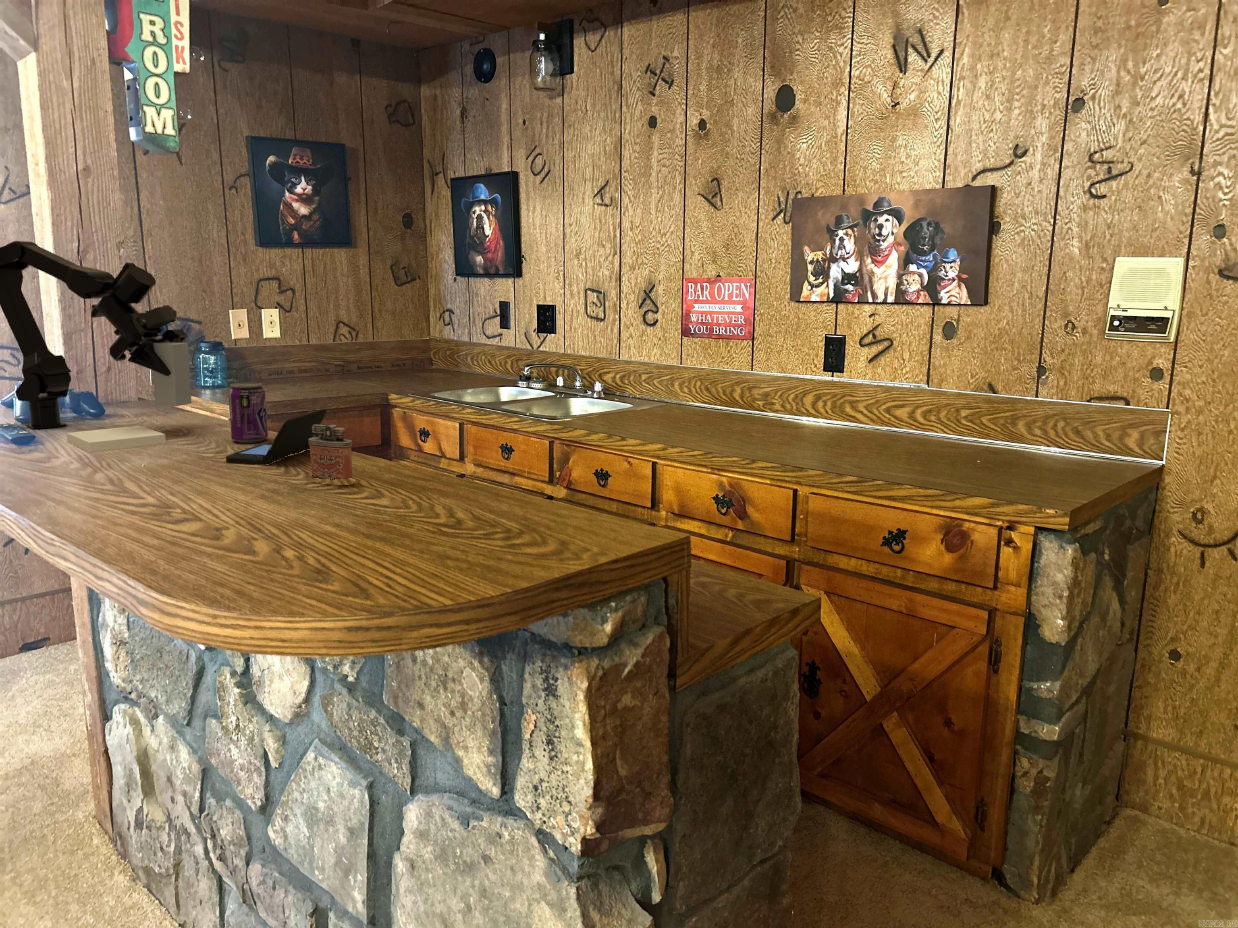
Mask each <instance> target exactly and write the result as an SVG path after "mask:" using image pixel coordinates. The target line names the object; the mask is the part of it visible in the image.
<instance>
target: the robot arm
mask: <svg viewBox="0 0 1238 928" xmlns="http://www.w3.org/2000/svg"><path fill="white" fill-rule="evenodd" d="M29 267H32V268H35V269H36V270H39V271H41V272H42V273H45V274H47V275H49V276H51V277H53V278H55V279H57V280H59V281H61V282H63V283H64V284H65V285H66V287H67V288H68V290H69V291H71V292H72V293H74V294H75V295H77V296H78V297H79V298H81V299H84V300H95V299H96V300H99V299H100V300H99V301H98V303H96V304H95V303H94V304H91V312H90V313H91V318H92V319H93V318H95V319H96V318H101V317H102V318H103V317H104V318H105V319H106V320H107V321H108V322H109V323H110V325H112V326H113V327H114V328H115V330H114V331H113V334H115V335H116V336H117V339H116V340H114V342H113V343H112V344H111V345H110V347H108V353H109V356H110V357H111V358H112V359H113V360H114V361H115V362H122V361H125V360H126V359H127V354H126V353H125V352H126V351H128V352H129V353H128V354H129V356H130V357H129V358H128V359H127V362H129V363H133V364H136V365H138V366H141V367H144V368H146V369H149V370H151V371H152V372H153V371H156V372H158V373H161V374H163V375H165V376H169V375H170V374H171V372H170V370H169V369H168V367H167V366H166V365H165V364H164V362H163V361H162V360H161V359H160V357H159V356H158V355H157V354H156V352H155V350H154V344H153V343H162V342H174V343H184V342H185V340H186V339H187V338H188V334H187V333H186V331H184V330H183V329H182V328H171V329H166V330H165V331H164V328H163V327H164V326H167V325H169V324H171V323H175V322H176V321H177V316H178V315H177V310H175V309H174V308H173V306H171V305H168V304H166V305H164V304H163V305H162V306H158V307H155V308H152V309H150V310H148V311H146V312H139V311H138V310H137V309H136V308H135V306H133V305H135V304H136V305H139V304H141V303H142V302H143V300H144V299H145V298H146V297H147V296H148V295H149V293H150V292H151V290H152V289H153V288H154V287H155V285H156V284H157V280H156V279H155V277H154V275H153V274H152V273H150V272H148V271H147V270H145V269H143V268H141V267H139V266H137V265H136V264H135V263H134V262H125V263H124V265H123V266H122V267H121V270H120V271H119V272H118V274H117V275H116V276H115V277H114V276H113V275H112V274H111V273H110V272H108V271H105V270H101V269H97V268H92V267H87V266H82V265H79V264H77V263H74V262H72V261H70V260H68V259H66V258H64V257H62V256H60V255H57V254H56V253H54V252H51V251H50V250H47V249H45V248H44V247H40V246H39V245H38V244H36V243H35V242H34V241H28V240H27V241H22V240H13V241H11V242H9V243H7V244H5V245H3V246H0V307H1V311H2V313H3V315H4V317H5V319H6V321H7V323H8V326H9V328H10V330H11V332H12V334H13V338H15V341H16V342H17V343H16V344H17V345H18V347H19V349H20V352H21V353H22V356H23V362H22V367H21V374H22V376H23V381H22V382H21V383H20V385H18V387H17V388H16V390H15V391H14V392H15V393H14V394H15V396H16V398H17V400H18V401H19V402H27V404H28V411H29V413H28V414H29V420H30V421H29V422H27V423H25V426H26V427H29V428H30V429H33V430H39V429H49V428H60V427H66V426H67V423H65V422H63V421H61V420H62V419H61V411H60V401H59V399H60V398H67V397H68V394H69V389H70V384H71V382H72V377H71V372H72V371H71V369H70V368H69V367H68V364H67V360H66V357H64V356H63V355H62V354H59V355H55V354H54V353H52V352H51V351H50V349H49V348H48V345H47V343H46V341H45V339H44V337H43V335H42V332H41V330H40V328H39V326H38V324H37V321H36V319H35V318H34V315H33V312H32V311H31V308H30V306H29V304H28V302H27V300H26V297H25V295H24V293H23V291H22V286H23V281H24V274H23V271H24V270H26V269H28V268H29ZM163 331H164V332H163ZM162 332H163V333H162ZM161 333H162V335H161V336H159V334H161Z"/></svg>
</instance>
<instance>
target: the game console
mask: <svg viewBox="0 0 1238 928" xmlns="http://www.w3.org/2000/svg"><path fill="white" fill-rule="evenodd" d="M326 414H327V409H326V408H322V409H319V410H316V411H312V412H310V413H309V412H308V413H307V414H303V415H300V416H297V417H293V418H289V419H287V420H285V421H284V423H283V424H282V425H281V427H280V429H279V430H278V432H277V434H276V436H275V438H274V439H273V442H272V441H270V442H264V443H260V444H258V445H254V446H251V447H249V448H246V449H243V450H239V451H237V452H234V453H231V454H229V455H226V456H225V462H227V463H228V464H239V463H247V464H248V465H255V464H270V463H272V462H274V461H277V460H280V459H283V458H285V456H288V455H290V454H295V453H299V452H301V451H303V450H307V449H310V444H309V438H314V435H315V433H314V432H312V426H313V425H321V423H322V421H324V418H325V416H326ZM285 459H286V458H285Z"/></svg>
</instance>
